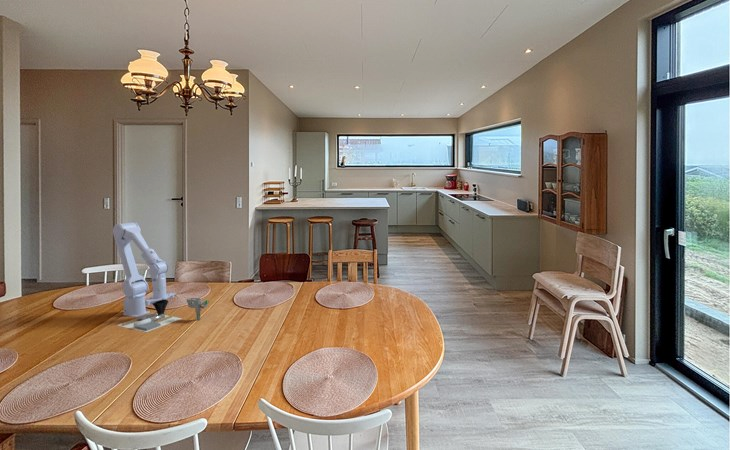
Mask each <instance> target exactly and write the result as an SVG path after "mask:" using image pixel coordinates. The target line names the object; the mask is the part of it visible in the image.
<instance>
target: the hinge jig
mask: <svg viewBox="0 0 730 450" xmlns="http://www.w3.org/2000/svg"><path fill="white" fill-rule="evenodd" d="M151 314H155V315H158V313H157V312H152V313H151V312H150V313H147V314H144V315H141V316H139V317H136V318H135V319H131V320H129V321H125V322H121V323H119V324H117V325H116V326H118V327H121V328H122V327H123V328H127V329H131V330H136V331H139V332H140V331H141V332H144V333H147V332H150V331H153V330H157V329H159V328H162V327H164V326H167V325H169V324H172V323H174V322H177V321H180V320H182V319H183V317H182V318H181V317H177V316H173V315H167V314H164V315H165V318H162V319H160V320H157V321H154V322H151V319H150V318H148V319H145V320H142V321H139V318H142V317H145V316H148V315H151Z"/></svg>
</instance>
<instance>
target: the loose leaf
mask: <svg viewBox="0 0 730 450" xmlns="http://www.w3.org/2000/svg"><path fill="white" fill-rule="evenodd" d="M150 314H151V313H150ZM147 315H148V314H147ZM165 315H166V314H165V313H164V314H160V315H155V314H151V315H148V316H145V315H144V316H145V317H142V316H141V317H142V318H140V317H138V318H139V321H142V320H145V319H148V318H150V319H151V322H154V321H157V320H160V319H162V318H165Z"/></svg>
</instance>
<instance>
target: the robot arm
mask: <svg viewBox="0 0 730 450" xmlns="http://www.w3.org/2000/svg"><path fill="white" fill-rule="evenodd" d="M112 228H113V229H112V230H111V231H112V235H113V238H114V241H115V244H116V247H117V252H118V254H119V259H120V261H121V263H122V264H121V265H122V267H123V272H124V274H125V279H124V281H123V282H122V291H123V292H122V293H123V294H124V296H125V297H124V298H123V302H122V303H123V313H122V315H124V316H126V317H127V316H128V317H132V318H139V317H142V316H145V315H148V314H151V311H149V310H146V309H147V308H146V306H150V305H152V306H153V307H154V309H155V310H156V313H157V314H158V315H160V314H164V315H165V311H166V307H168V304H169V300H167V299H171V298H175V292H170V293H167V277H166V274H167V272H168V270H169V265H168V263H167V261H165V260H164V259H161V258H160V257H159V255H158V254H157V253H156V251H155V250H154V248H150V247H149V245H148V243H147V242H146V240H145V239H144V237H143V235H142V233H141V232H142V231H141V227H140V226H139V223H138V222H136V221H131V222H124V223H123V222H122V223H116V224H114V226H113V227H112ZM131 241H132V242H133V243H134V244H135V245H136V247H138V249H139V250H140V251H141V258H142V259H143V260H144V262H145V263H146V265H147V266H148V270H147V271H148V272H149V274H150V279H151V284H152V297H150V298H147V299H146V295H147V292H148V291H149V284H148V282H147V281H146V279H145V276H142V275H140V273H139V271H138V267H137V264H136V261H135V257H134V254H133V251H132V247H131Z"/></svg>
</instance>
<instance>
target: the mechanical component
mask: <svg viewBox="0 0 730 450" xmlns="http://www.w3.org/2000/svg"><path fill="white" fill-rule="evenodd" d="M186 303H187V307H188V308H190V309H195V310H194V312H195V313H196V315H195V316H196V321H200V320H201V311H202V309H206V308H207V307H208V305H209V303H210V302H209V300H208V299H204V300H202V298H195V297H190V298H187V299H186Z"/></svg>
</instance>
